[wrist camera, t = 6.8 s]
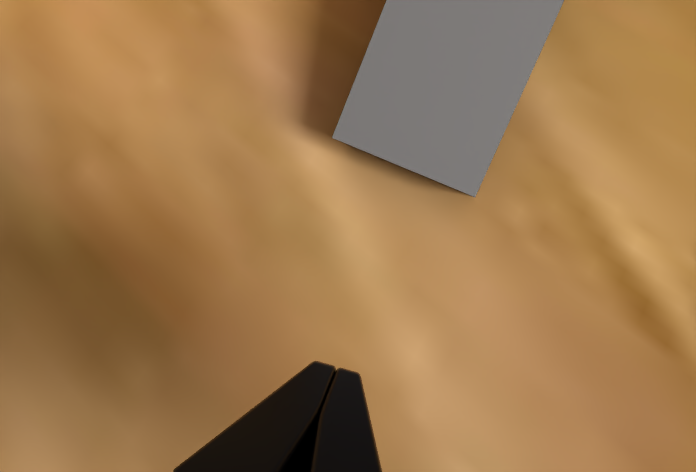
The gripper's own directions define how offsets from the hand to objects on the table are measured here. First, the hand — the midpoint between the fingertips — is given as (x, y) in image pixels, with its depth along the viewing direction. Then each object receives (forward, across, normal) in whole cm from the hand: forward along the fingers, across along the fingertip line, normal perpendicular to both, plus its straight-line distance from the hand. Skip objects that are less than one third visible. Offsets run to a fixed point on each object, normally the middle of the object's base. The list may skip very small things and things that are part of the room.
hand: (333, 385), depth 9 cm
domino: (+10, 0, -1) cm, 10 cm away
